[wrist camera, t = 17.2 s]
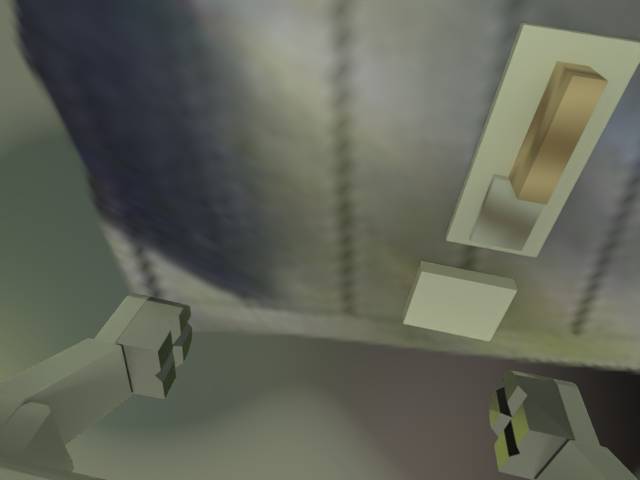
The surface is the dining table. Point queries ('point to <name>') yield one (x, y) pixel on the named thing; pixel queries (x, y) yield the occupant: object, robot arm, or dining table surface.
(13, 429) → the robot arm
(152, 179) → the dining table surface
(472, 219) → the tool rest
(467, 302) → the tile
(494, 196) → the wooden handled scraper
